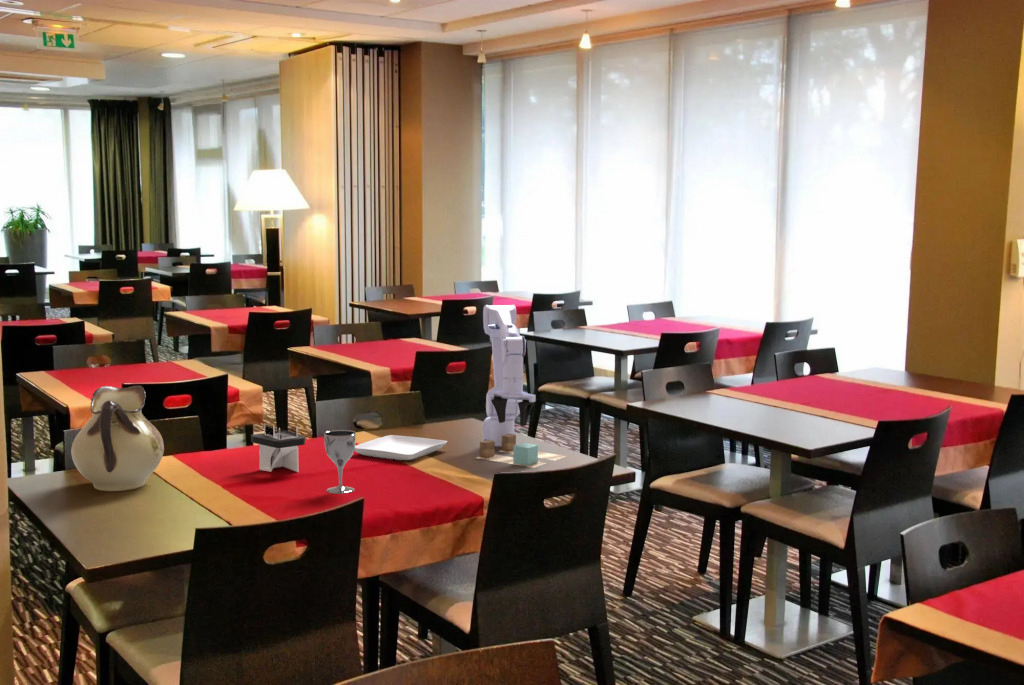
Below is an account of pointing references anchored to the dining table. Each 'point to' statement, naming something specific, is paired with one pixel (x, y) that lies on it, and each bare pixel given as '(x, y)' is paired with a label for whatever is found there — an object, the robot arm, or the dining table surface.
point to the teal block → (525, 454)
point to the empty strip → (543, 455)
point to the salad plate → (399, 447)
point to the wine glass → (340, 453)
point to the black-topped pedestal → (278, 448)
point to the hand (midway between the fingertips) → (512, 423)
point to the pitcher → (117, 441)
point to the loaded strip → (488, 454)
